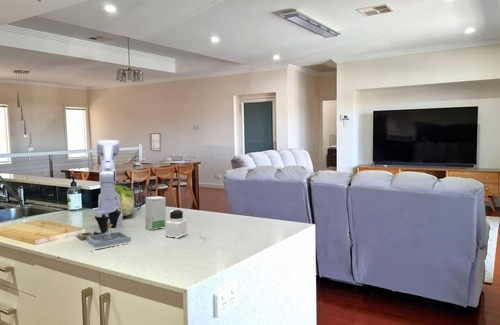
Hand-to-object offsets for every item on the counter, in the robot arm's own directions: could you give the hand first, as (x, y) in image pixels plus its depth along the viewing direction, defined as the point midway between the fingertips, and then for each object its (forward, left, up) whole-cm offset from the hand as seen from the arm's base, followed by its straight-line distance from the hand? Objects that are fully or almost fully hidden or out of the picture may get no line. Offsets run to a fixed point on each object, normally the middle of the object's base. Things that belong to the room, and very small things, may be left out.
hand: (108, 230), depth 165 cm
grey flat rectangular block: (+2, -12, -6) cm, 14 cm away
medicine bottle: (-29, +6, -6) cm, 30 cm away
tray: (0, 0, -6) cm, 6 cm away
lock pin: (0, 0, -5) cm, 5 cm away
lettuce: (-24, -50, -6) cm, 56 cm away
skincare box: (-28, -13, -6) cm, 31 cm away
